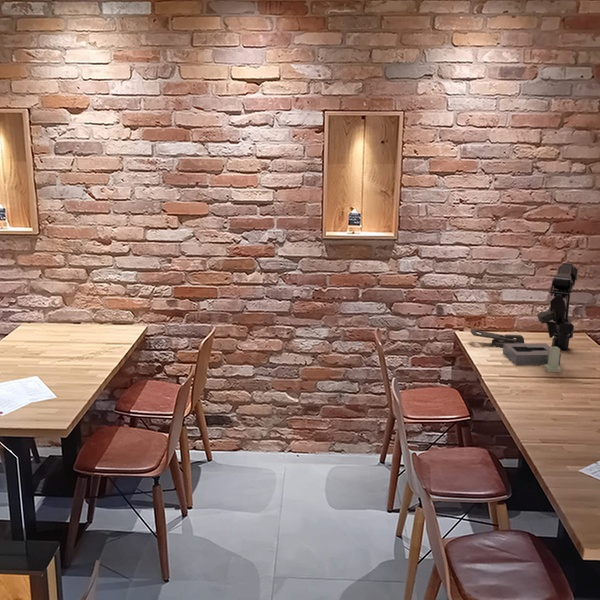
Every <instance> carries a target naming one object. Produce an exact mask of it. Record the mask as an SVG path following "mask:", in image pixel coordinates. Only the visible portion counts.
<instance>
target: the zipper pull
mask: <svg viewBox="0 0 600 600" xmlns="http://www.w3.org/2000/svg"><path fill="white" fill-rule="evenodd" d="M470 333H471V335H473V336H474V337H481V338H487V339H492V340H491V346H493V347H494V346H495V347H494V348H497V347H500V349H503V345H504V344H520V343H525V338H524V336H523V335H522V334H498V333H493V332H488V331H484V330H480V329H474V328H471V329H470Z"/></svg>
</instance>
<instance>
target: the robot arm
mask: <svg viewBox="0 0 600 600" xmlns="http://www.w3.org/2000/svg"><path fill="white" fill-rule="evenodd" d="M578 276H579V269H578V268H577V267H575V264H573V263H569V262H562V263H561V265H560V266H558V267H557V274H555V276H554V277H553V278H552V281H551V287H550V294H553V296H552V298H551V300H550V302H549V305H550V306H549V309H547V310H545V311H541V312H539V313H537V314H536V315H537V318H538V319H537V320H538V322H540V323H541V324H546V326H547V331H548V338H549V339H551V340H552V341H551V345H550V347H558V348H560V352H562V351H571V349H570V348H569V346H570V345H569V343H570V339H573V337H574V330H575V325H574V324H573V323H572V319H571V318H570V316H569V312H570V305H571V294H572V293H573V288H574V286H575V285H576V282H577V281H578Z"/></svg>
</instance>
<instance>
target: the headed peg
mask: <svg viewBox="0 0 600 600" xmlns="http://www.w3.org/2000/svg"><path fill="white" fill-rule="evenodd" d="M560 352H561V351H560V348H558V347H551V346H550V349H549V358H548V365H543V369H545V370H546V371H547V372H548V373H562V368H561V366H560V365H558V364H559V355H560V354H561V353H560Z"/></svg>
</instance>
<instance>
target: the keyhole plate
mask: <svg viewBox="0 0 600 600" xmlns="http://www.w3.org/2000/svg"><path fill="white" fill-rule="evenodd" d="M550 347H551V345H549V344H547V343H543V342H542V343H540V342H538V343H535V342H534V343H531V342H530V343H526V342H524V343H520V344H504V345H503V348H502V354H503V355H504V357H506V358H507V359H508V360H509V361H510V362H511V361H512V362H511V363H512V364H514V365H515V366H544V365H548V358H549V349H550ZM561 359H562V355H561V353H560V355H559V364H558V366H560V365H561Z"/></svg>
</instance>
